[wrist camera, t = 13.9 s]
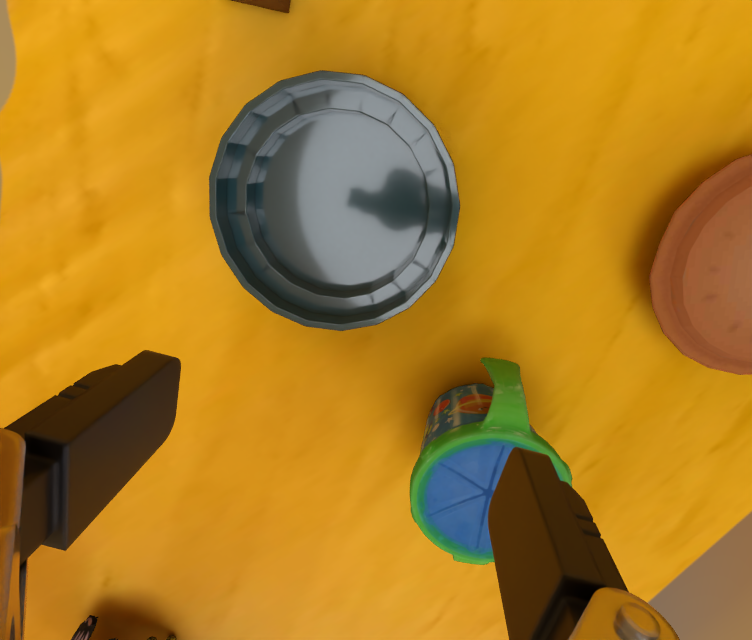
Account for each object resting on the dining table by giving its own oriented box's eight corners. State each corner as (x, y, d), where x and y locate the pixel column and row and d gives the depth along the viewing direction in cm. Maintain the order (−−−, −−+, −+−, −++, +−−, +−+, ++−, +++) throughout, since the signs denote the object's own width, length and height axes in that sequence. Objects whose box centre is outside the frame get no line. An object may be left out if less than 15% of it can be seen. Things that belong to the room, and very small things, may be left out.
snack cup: (501, 506, 42) (527, 607, 33) (389, 478, 42) (383, 571, 33) (564, 354, 37) (617, 420, 28) (437, 322, 37) (447, 377, 28)
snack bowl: (328, 27, 31) (315, 5, 27) (500, 198, 34) (512, 203, 30) (191, 212, 36) (162, 219, 32) (351, 350, 39) (344, 373, 34)
